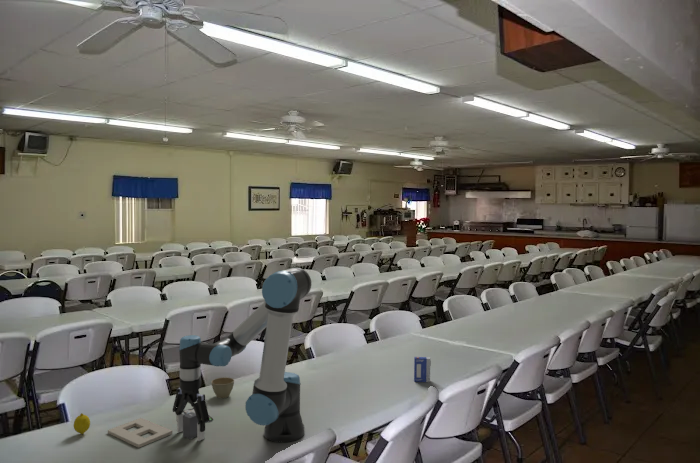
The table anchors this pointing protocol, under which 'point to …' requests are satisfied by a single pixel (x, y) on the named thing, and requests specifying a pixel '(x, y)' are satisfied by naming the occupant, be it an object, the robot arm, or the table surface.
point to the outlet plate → (139, 432)
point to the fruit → (82, 423)
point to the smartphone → (194, 412)
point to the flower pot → (222, 386)
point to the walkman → (422, 369)
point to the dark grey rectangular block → (190, 425)
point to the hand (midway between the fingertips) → (190, 435)
